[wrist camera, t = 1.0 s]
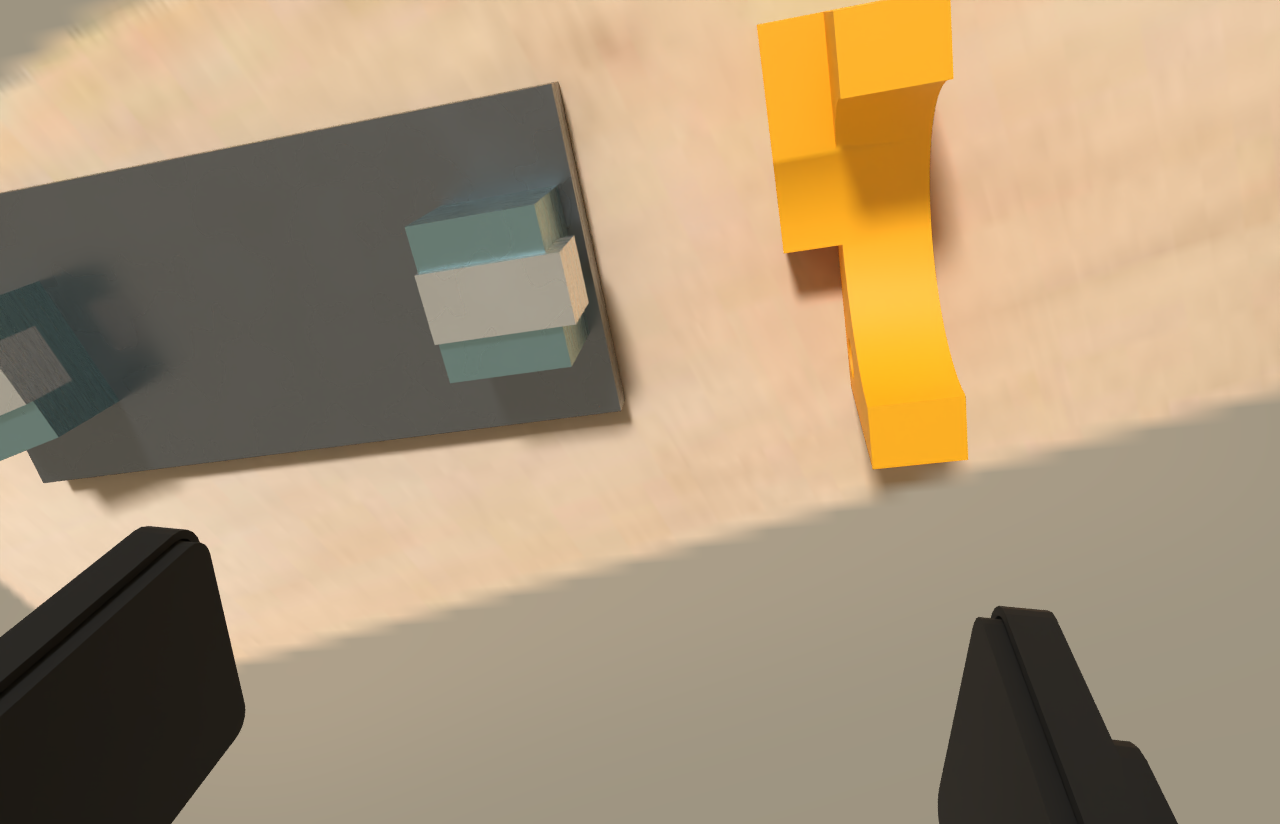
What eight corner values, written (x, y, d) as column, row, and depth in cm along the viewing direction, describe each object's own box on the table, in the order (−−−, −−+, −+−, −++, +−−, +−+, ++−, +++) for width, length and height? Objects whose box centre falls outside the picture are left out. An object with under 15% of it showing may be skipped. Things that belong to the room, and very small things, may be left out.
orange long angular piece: (756, 25, 26) (756, 26, 20) (905, -5, 25) (949, -13, 20) (799, 389, 31) (810, 475, 25) (926, 374, 30) (968, 459, 24)
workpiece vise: (558, 81, 27) (523, 92, 23) (624, 399, 32) (605, 455, 28) (-75, 207, 32) (-197, 235, 28) (57, 471, 36) (-32, 529, 32)
